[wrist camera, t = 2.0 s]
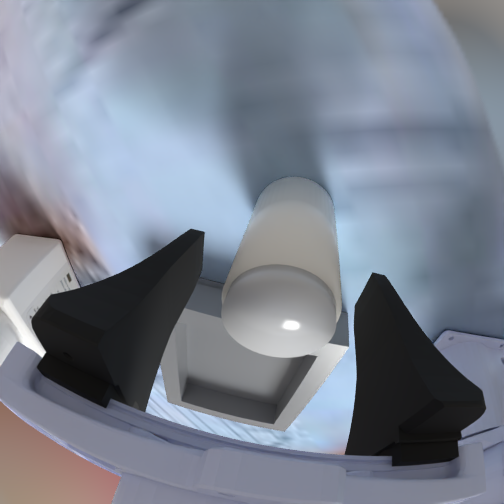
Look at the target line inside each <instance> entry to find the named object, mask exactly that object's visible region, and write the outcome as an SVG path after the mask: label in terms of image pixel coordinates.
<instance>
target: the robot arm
mask: <svg viewBox="0 0 504 504" xmlns="http://www.w3.org/2000/svg"><path fill="white" fill-rule="evenodd" d="M204 234H205V232H202V231H198V230H194V229H190V230H188V231H187V232H185V233H184V234H182V235H181V236H180V237H178V238H177V239H175V240H174V241H172V242H171V243H170V244H168V245H167V246H165V247H164V248H162V249H161V250H159V251H158V252H156V253H155V254H153V255H152V256H150V257H148V258H147V259H145V260H143V261H142V262H140V263H138V264H136V265H135V266H133V267H131V268H129V269H127V270H125V271H123V272H121V273H118V274H116V275H114V276H111V277H109V278H106V279H104V280H101V281H99V282H96V283H93V284H90V285H87V286H84V287H81V288H77V289H73V290H69V291H65V292H60V293H56V294H51V295H50V296H49V297H48V298H47V299H46V301H45V302H44V303H43V304H42V306H41V307H40V308H39V310H38V311H37V312H36V313H35V315H34V316H33V317H32V320H31V324H32V329H33V331H34V333H35V335H36V336H37V338H38V340H39V341H40V343H41V345H42V346H43V348H44V350H45V351H46V353H45V355H44V356H43V358H42V357H41V356H40V355H39V354H37V353H36V352H35V351H33V350H31V349H30V348H28V347H26V346H25V345H23V344H22V343H20V342H16V344H15V345H14V347H13V348H12V349H11V351H10V352H9V354H8V355H7V357H6V358H5V360H4V362H3V363H2V365H1V366H0V401H1V402H2V403H3V404H4V405H6V406H7V407H8V408H9V409H10V410H11V411H12V412H13V413H15V414H16V415H17V416H19V417H20V418H21V419H22V420H24V421H25V422H26V423H28V424H29V425H31V426H32V427H34V428H35V429H36V430H38V431H40V432H41V433H43V434H44V435H45V436H47V437H49V438H50V439H52V440H54V441H55V442H56V443H58V444H60V445H61V446H63V447H65V448H66V449H68V450H70V451H71V452H73V453H75V454H77V455H78V456H80V457H82V458H84V459H86V460H88V461H90V462H91V463H93V464H95V465H98V466H99V467H101V468H103V469H105V470H107V471H110V472H112V473H114V474H116V475H118V476H120V477H121V479H120V481H119V484H118V487H117V490H116V492H115V495H114V498H113V500H112V503H111V504H504V340H503V339H497V338H490V337H484V336H478V335H472V334H466V333H460V332H455V331H445V332H443V333H442V334H441V335H440V336H439V338H438V339H437V340H436V341H435V342H434V344H433V343H432V342H431V341H430V340H429V338H428V337H427V336H426V335H425V333H424V332H423V331H422V329H421V328H420V326H419V325H418V324H417V322H416V321H415V319H414V318H413V317H412V315H411V314H410V312H409V311H408V309H407V308H406V306H405V305H404V303H403V301H402V300H401V298H400V297H399V295H398V294H397V292H396V291H395V289H394V288H393V286H392V285H391V283H390V282H389V280H388V279H387V277H386V276H385V275H381V274H377V273H373V272H372V274H371V276H370V278H369V280H368V282H367V284H366V286H365V288H364V290H363V292H362V293H361V295H360V297H359V299H358V301H357V303H356V304H355V313H354V336H355V350H356V366H357V381H356V394H355V403H354V411H353V417H352V423H351V429H350V434H349V439H348V443H347V447H346V451H345V455H336V454H324V453H314V452H305V451H297V450H290V449H283V448H277V447H271V446H265V445H260V444H255V443H250V442H245V441H240V440H236V439H232V438H227V437H223V436H219V435H215V434H211V433H208V432H204V431H200V430H197V429H194V428H190V427H187V426H184V425H180V424H177V423H174V422H171V421H168V420H165V419H162V418H159V417H156V416H154V415H151V414H148V413H145V411H146V407H147V403H148V400H149V396H150V393H151V390H152V386H153V383H154V380H155V377H156V374H157V371H158V368H159V365H160V362H161V359H162V356H163V354H164V351H165V348H166V346H167V343H168V340H169V338H170V335H171V333H172V331H173V329H174V327H175V325H176V323H177V321H178V319H179V318H180V316H181V314H182V312H183V310H184V308H185V306H186V304H187V302H188V301H189V299H190V297H191V295H192V293H193V291H194V289H195V287H196V284H197V281H198V279H199V276H200V273H201V271H202V262H203V247H204Z"/></svg>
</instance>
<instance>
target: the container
mask: <svg viewBox="0 0 504 504" xmlns="http://www.w3.org/2000/svg"><path fill="white" fill-rule="evenodd" d="M77 288H80V286H79V283H78V281H77V279H76V276H75V274H74V272H73V269H72V267H71V265H70V262H69V260H68V257H67V255H66V252H65V250H64V247H63V244H62V242H61V240H59V239H52V238H44V237H37V236H29V235H21V234H15V235H13V236H12V237H11V238H10V239H9V240H8V241H7V242H6V243H5V244H3V245H2V246H1V247H0V366H1V365H2V363H3V362H4V360H5V358H6V357H7V355H8V354H9V352H10V351H11V349H12V348H13V347H14V345H15V344H16V342H20V343H22V344H23V345H25V346H26V347H28V348H30V349H31V350H33V351H35V352H36V353H37V354H39V355H40V356H41V357H42V358H43V356H44V355H45V353H46V351H45V350H44V348H43V346H42V345H41V343H40V341H39V340H38V338H37V336H36V335H35V333H34V331H33V329H32V324H31V320H32V317H33V316H34V315H35V313H36V312H37V311H38V310H39V308H40V307H41V306H42V304H43V303H44V302H45V301H46V299H47V298H48V297H49V296H50V295H51V294H56V293H60V292H65V291H69V290H73V289H77Z"/></svg>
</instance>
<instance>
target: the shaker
mask: <svg viewBox="0 0 504 504" xmlns="http://www.w3.org/2000/svg"><path fill="white" fill-rule="evenodd" d="M222 305H223V306H222V310H221V317H222V322H223V325H224V327H225V329H226V330H227V332H228V333H229V334H230V336H231V337H232V338H233V339H234V340H236V341H237V342H238V343H239V344H241V345H242V346H244V347H246V348H248V349H250V350H252V351H254V352H257V353H259V354H263V355H267V356H272V357H280V358H291V357H300V356H304V355H308V354H311V353H313V352H315V351H317V350H319V349H321V348H322V347H324V346H325V345H326V344H327V343H328V342H329V341H330V340H331V338H332V337H333V335H334V333H335V330H336V323H337V322H338V320H339V317H340V314H341V310H342V299H341V281H340V265H339V252H338V240H337V229H336V219H335V210H334V205H333V202H332V199H331V197H330V196H329V194H328V193H327V191H326V190H325V189H324V188H323V187H321V186H320V185H319V184H317V183H316V182H314V181H312V180H310V179H306V178H302V177H285V178H281V179H278V180H276V181H274V182H272V183H271V184H269V185H268V186H267V187H266V188H265V189H264V190H263V191H262V192H261V194H260V196H259V198H258V200H257V203H256V205H255V208H254V210H253V213H252V215H251V218H250V220H249V223H248V225H247V228H246V230H245V233H244V235H243V238H242V241H241V243H240V246H239V248H238V251H237V253H236V256H235V258H234V261H233V264H232V266H231V269H230V271H229V274H228V276H227V279H226V282H225V284H224V287H223V290H222Z"/></svg>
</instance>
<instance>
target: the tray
mask: <svg viewBox="0 0 504 504" xmlns="http://www.w3.org/2000/svg"><path fill="white" fill-rule="evenodd" d="M223 287H224V284H222V283H218V282H214V281H210V280H207V279H203V278H199V279H198V281H197V284H196V287H195V289H194V291H193V293H192V295H191V297H190V299H189V301H188V302H187V304H186V306H185V308H184V310H183V312H182V314H181V316H180V318H179V319H178V321H177V323H176V325H175V327H174V329H173V331H172V333H171V335H170V338H169V340H168V343H167V346H166V348H165V351H164V354H163V356H162V359H161V362H160V364H161V369H162V375H163V380H164V385H165V390H166V395H167V400H168V402H169V403H172V404H175V405H178V406H181V407H185V408H188V409H191V410H194V411H198V412H201V413H205V414H208V415H212V416H216V417H219V418H223V419H227V420H231V421H235V422H240V423H244V424H248V425H253V426H258V427H263V428H268V429H273V430H279V431H284V432H285V430H286V429H287V428H288V427H289V426H290V425H291V423H292V422H293V421H294V420H295V419H296V417H297V416H298V415H299V414H300V413H301V411H302V410H303V409H304V408H305V406H306V405H307V404H308V403H309V401H310V400H311V399H312V397H313V396H314V395H315V394H316V392H317V391H318V390H319V388H320V387H321V386H322V384H323V383H324V382H325V380H326V379H327V378H328V376H329V375H330V373H331V372H332V371H333V369H334V368H335V367H336V365H337V364H338V362H339V361H340V359H341V358H342V357H343V355H344V354H345V352H346V351H347V349H348V348H349V331H348V313H345V312H341V314H340V317H339V320H338V322H337V323H336V330H335V333H334V335H333V337H332V338H331V340H330V341H329V342H328V343H327V344H326V345H325V346H324V347H322V348H321V349H319V350H317V351H315V352H313V353H311V354H308V355H304V356H300V357H291V358H280V357H272V356H267V355H263V354H259V353H257V352H254V351H252V350H250V349H248V348H246V347H244V346H242V345H241V344H239V343H238V342H237V341H236V340H234V339H233V338H232V337H231V336H230V334H229V333H228V332H227V330H226V329H225V327H224V325H223V322H222V317H221V310H222V306H223V305H222V290H223Z"/></svg>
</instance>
